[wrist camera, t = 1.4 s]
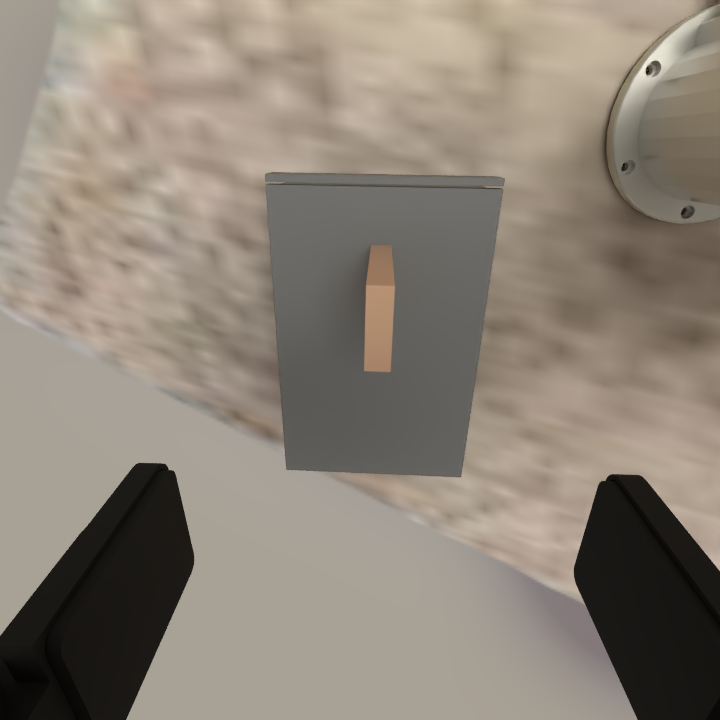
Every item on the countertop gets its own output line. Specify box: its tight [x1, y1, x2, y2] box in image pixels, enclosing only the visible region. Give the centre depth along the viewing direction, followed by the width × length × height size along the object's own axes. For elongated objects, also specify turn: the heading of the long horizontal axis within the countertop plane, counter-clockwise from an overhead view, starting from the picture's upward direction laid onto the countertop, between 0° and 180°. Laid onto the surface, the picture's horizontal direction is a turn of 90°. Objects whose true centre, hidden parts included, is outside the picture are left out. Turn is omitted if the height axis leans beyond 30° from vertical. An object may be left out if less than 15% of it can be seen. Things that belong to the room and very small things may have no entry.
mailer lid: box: [265, 172, 505, 477], centre depth 26 cm, size 21×13×10 cm, turn 179°
